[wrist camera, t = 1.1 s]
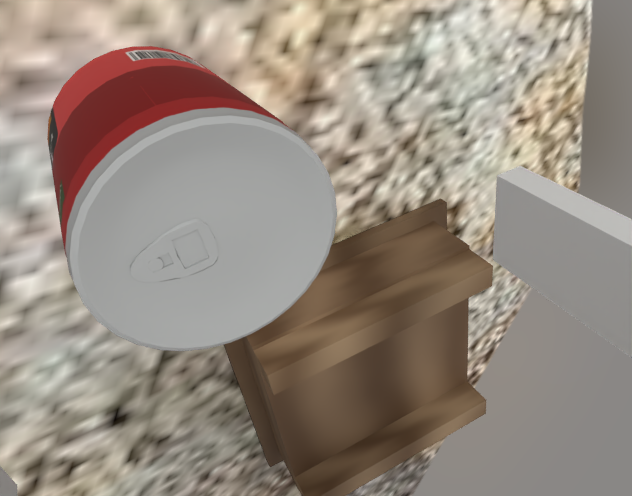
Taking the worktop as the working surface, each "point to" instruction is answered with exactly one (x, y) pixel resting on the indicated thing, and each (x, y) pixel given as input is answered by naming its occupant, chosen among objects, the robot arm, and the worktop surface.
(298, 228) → the canned food
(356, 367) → the brown square tray
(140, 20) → the worktop surface
